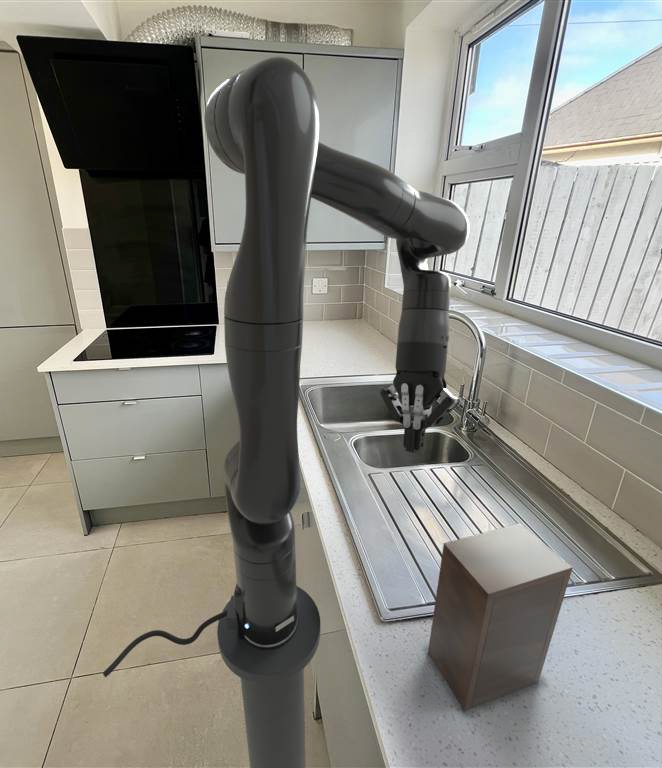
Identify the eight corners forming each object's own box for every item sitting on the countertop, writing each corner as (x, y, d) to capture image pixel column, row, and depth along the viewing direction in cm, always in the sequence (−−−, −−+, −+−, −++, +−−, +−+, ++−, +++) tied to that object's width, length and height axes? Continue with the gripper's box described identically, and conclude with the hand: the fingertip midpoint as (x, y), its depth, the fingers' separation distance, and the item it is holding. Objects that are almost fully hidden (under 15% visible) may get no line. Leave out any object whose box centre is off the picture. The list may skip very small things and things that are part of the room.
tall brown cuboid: (427, 652, 59) (443, 543, 51) (495, 628, 62) (519, 522, 55) (464, 711, 52) (488, 594, 44) (538, 681, 55) (573, 567, 48)
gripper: (372, 338, 64) (364, 446, 65) (452, 339, 55) (441, 464, 56) (398, 342, 70) (390, 442, 71) (475, 344, 60) (464, 458, 61)
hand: (413, 452), depth 63 cm, fingers closed
